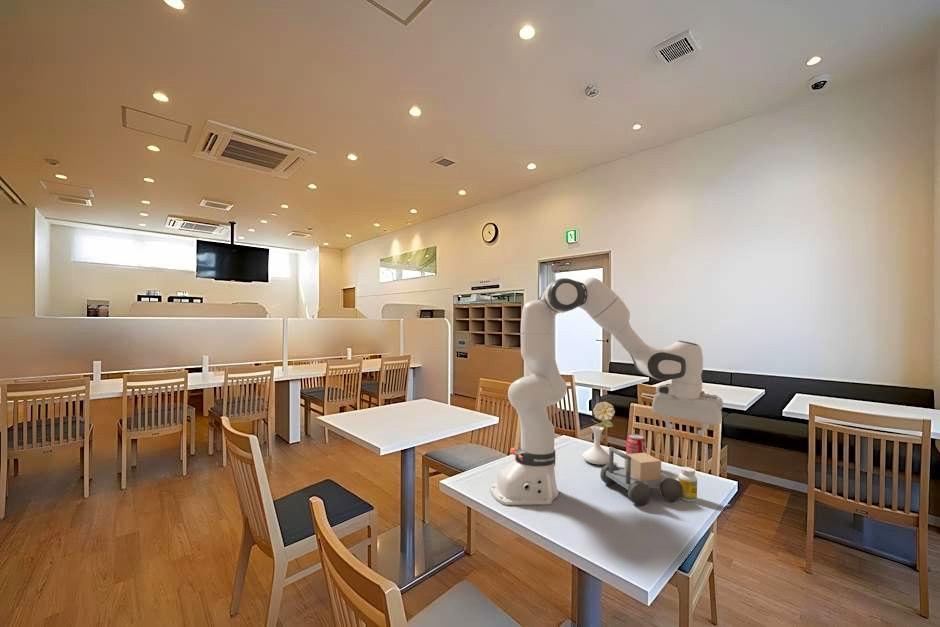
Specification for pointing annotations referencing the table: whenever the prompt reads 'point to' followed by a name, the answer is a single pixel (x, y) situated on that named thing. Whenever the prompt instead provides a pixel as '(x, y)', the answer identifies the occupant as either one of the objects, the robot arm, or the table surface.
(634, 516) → the table surface
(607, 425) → the flower in vase
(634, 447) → the soda can
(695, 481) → the supplement bottle
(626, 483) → the trolley
